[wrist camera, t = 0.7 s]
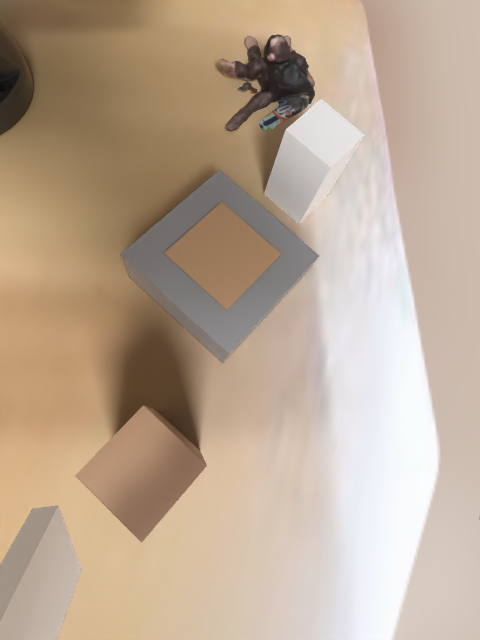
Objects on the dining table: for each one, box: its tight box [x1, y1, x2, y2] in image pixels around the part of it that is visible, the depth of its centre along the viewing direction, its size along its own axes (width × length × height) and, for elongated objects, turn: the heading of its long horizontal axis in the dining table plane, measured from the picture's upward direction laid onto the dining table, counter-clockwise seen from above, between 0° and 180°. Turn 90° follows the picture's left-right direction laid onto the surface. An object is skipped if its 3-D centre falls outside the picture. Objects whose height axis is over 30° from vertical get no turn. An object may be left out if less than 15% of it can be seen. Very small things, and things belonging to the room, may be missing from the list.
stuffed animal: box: [218, 35, 315, 131], centre depth 43 cm, size 12×10×12 cm
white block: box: [264, 99, 364, 224], centre depth 35 cm, size 5×5×9 cm
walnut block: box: [75, 405, 207, 542], centre depth 25 cm, size 5×5×11 cm
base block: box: [120, 170, 319, 363], centre depth 33 cm, size 12×12×5 cm
